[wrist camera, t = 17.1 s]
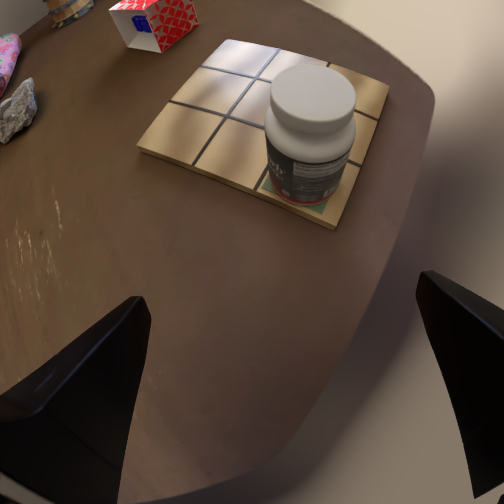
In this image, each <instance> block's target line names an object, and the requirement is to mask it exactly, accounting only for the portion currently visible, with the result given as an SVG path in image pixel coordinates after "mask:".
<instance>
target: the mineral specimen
mask: <svg viewBox="0 0 504 504" xmlns="http://www.w3.org/2000/svg"><path fill="white" fill-rule="evenodd" d="M33 87H34V82H33V78H29V79H27V80H25V81H24V82H23V83H22V84H21V86H19V88H17V90H16V91H15V92H14V93H13V95H12V97H11V98H9V99H7V100H5V101H4V102H2V103H1V104H0V142H2V143H4V144H6V143H7V142H8V141H9V140H10V139H11V137H12V136H13V135H14V134H15V133H16V132H18V131H19V130H21V129H22V128H23V126H29V125H30V124H31V122H32V118H33V117H34V116H35V114H36V111H37V110H38V105H37V101H36V96H35V93H33Z"/></svg>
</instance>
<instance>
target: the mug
mask: <svg viewBox="0 0 504 504" xmlns="http://www.w3.org/2000/svg"><path fill="white" fill-rule="evenodd" d="M43 2H46V4H47V5H48V7H49V9H50V10H49V13H48V14H50V15H52V16H53V18H54V25H53V26H52V27H55V26H57V27H58V28H61V27H64V26H66V25H68V24H70V23H72V22H73V21H75V20H77V19H78V18H80V17H81V16H83V15H84V14H85V13H86V12H88V11H89V10H90V9H91V8H92V7H93V5H94V0H43Z"/></svg>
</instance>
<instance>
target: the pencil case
mask: <svg viewBox="0 0 504 504" xmlns="http://www.w3.org/2000/svg"><path fill="white" fill-rule="evenodd" d="M21 47H22V42H21V39H20V37H19V36H18V35H16V34H14V33H8V34H6V35H4V36H2V37H1V38H0V98H1V97H2V95H3V93H4V91H5V90H6V87H7V84H8V82H9V80H10V77H11V75H12V73H13V70H14V67H15V64H16V61H17V57H18V55H19V53H20V50H21Z"/></svg>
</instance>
